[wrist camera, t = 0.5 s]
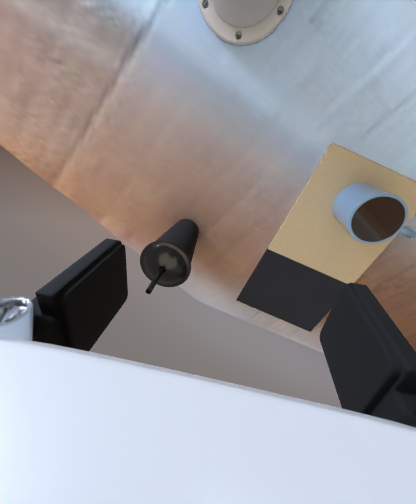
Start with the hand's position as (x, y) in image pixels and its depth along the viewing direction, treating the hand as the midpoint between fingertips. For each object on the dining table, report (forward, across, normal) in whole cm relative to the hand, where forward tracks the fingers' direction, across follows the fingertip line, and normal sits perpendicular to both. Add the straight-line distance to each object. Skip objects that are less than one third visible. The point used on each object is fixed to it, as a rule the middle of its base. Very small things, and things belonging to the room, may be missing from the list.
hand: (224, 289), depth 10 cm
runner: (+34, -16, +13) cm, 40 cm away
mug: (+34, -21, +3) cm, 40 cm away
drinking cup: (+34, +9, +13) cm, 37 cm away
